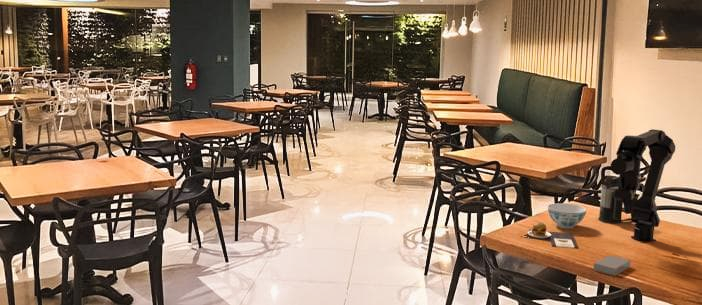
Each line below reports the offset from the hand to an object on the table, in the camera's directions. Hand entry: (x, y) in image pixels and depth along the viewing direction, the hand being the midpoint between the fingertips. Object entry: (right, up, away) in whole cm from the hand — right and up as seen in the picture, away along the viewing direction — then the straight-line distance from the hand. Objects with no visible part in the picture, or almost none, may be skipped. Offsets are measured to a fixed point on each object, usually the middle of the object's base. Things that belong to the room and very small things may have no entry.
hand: (627, 213), depth 231 cm
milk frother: (+13, -7, +37) cm, 40 cm away
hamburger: (-27, -11, +16) cm, 33 cm away
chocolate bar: (-20, -12, +11) cm, 25 cm away
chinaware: (-12, -8, +29) cm, 33 cm away
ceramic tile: (-9, -15, -15) cm, 23 cm away
